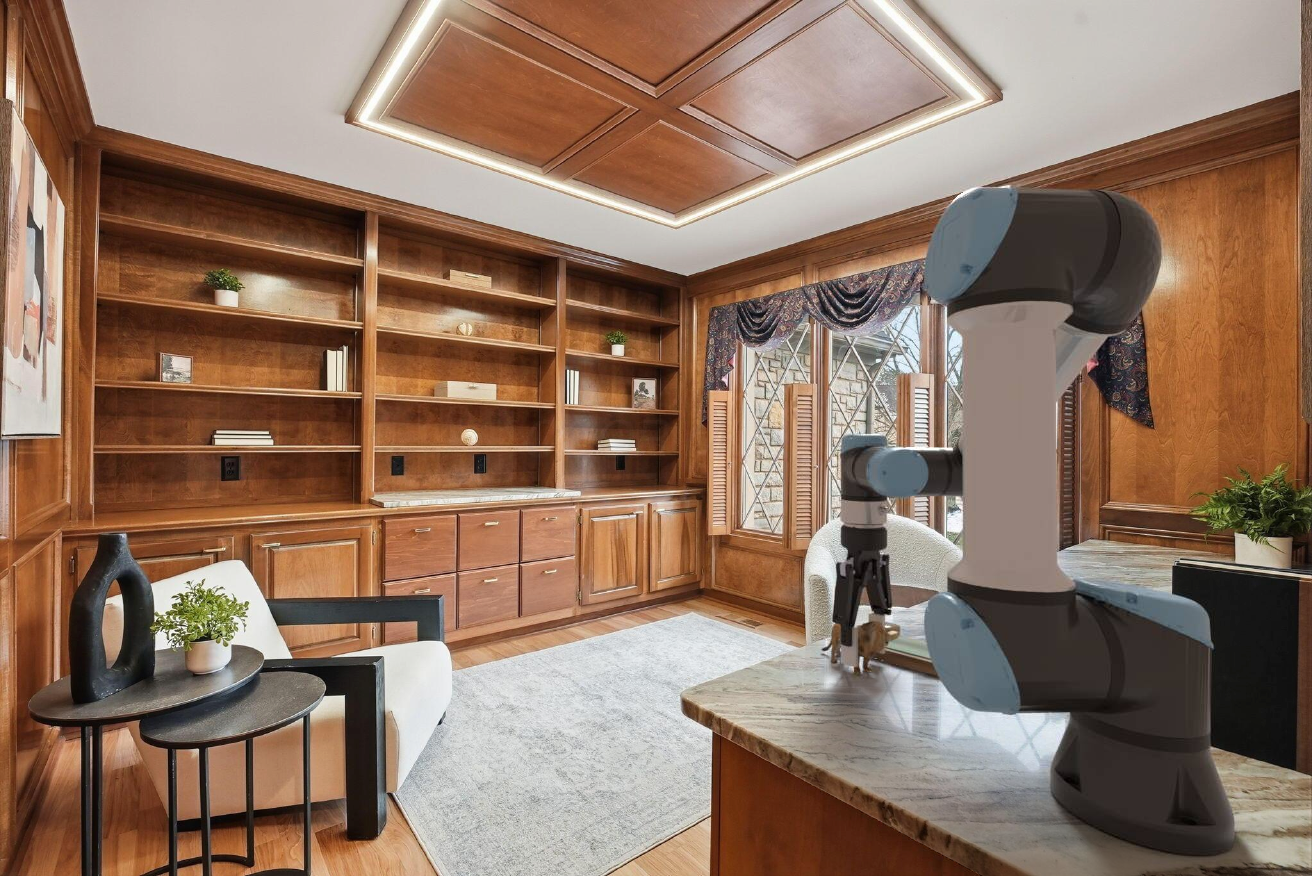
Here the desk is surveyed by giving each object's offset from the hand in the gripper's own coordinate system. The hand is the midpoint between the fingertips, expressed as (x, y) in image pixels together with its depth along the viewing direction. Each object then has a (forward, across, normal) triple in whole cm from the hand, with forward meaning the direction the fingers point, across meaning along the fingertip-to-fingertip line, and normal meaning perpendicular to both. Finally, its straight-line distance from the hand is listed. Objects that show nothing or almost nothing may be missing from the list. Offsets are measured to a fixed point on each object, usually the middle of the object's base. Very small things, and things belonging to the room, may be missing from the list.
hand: (863, 657), depth 106 cm
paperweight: (+2, +18, +5) cm, 19 cm away
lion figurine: (+2, 0, +1) cm, 3 cm away
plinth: (+2, +11, -8) cm, 14 cm away
